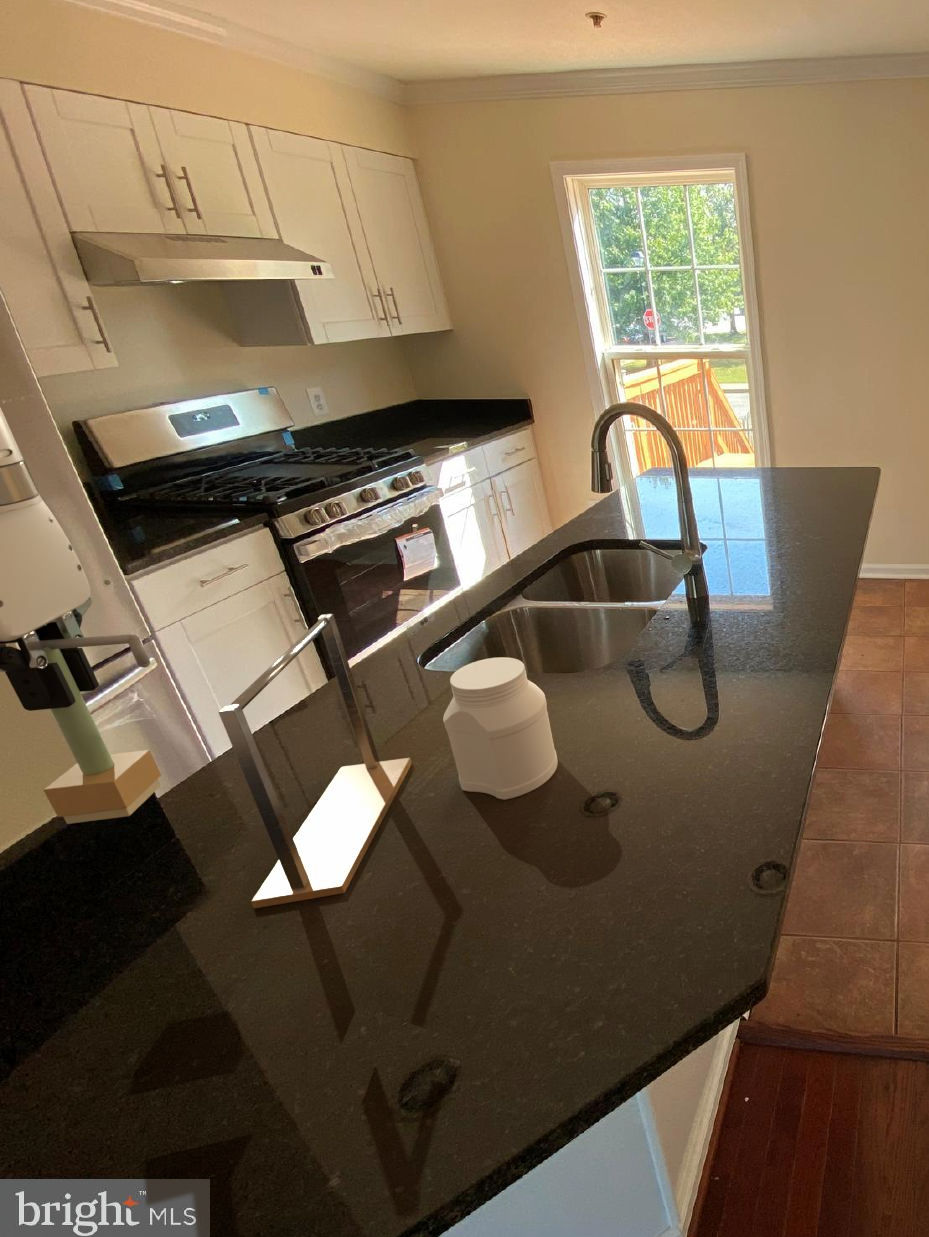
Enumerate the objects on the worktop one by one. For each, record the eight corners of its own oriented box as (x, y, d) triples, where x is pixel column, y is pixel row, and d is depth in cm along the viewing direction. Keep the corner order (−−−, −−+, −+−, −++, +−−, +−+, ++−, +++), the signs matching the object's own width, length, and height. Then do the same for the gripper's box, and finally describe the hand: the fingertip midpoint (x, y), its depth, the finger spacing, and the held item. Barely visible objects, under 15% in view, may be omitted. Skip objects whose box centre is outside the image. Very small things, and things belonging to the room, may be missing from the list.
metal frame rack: (253, 909, 70) (169, 719, 61) (343, 772, 90) (289, 615, 81) (344, 893, 72) (275, 707, 63) (412, 763, 92) (367, 609, 83)
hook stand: (62, 826, 62) (-29, 657, 55) (101, 791, 66) (22, 631, 59) (189, 809, 64) (117, 646, 57) (219, 777, 68) (155, 622, 62)
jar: (445, 786, 88) (417, 684, 82) (501, 745, 96) (479, 649, 90) (521, 804, 85) (497, 699, 79) (571, 759, 93) (553, 661, 87)
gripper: (-13, 470, 59) (78, 661, 66) (-223, 522, 45) (-79, 758, 52) (96, 467, 61) (173, 653, 68) (-72, 516, 47) (47, 744, 54)
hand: (63, 697), depth 60 cm, fingers closed on hook stand
